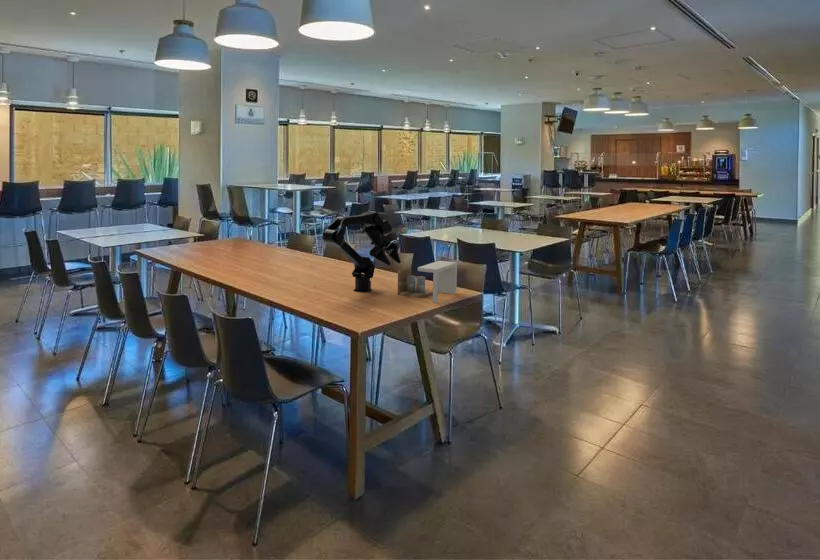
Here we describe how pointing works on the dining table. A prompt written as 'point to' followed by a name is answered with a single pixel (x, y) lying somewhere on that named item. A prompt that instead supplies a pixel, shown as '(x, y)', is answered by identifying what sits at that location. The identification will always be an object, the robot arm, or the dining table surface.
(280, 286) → the dining table surface
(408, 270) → the caddy
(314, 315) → the dining table surface
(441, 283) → the counter
